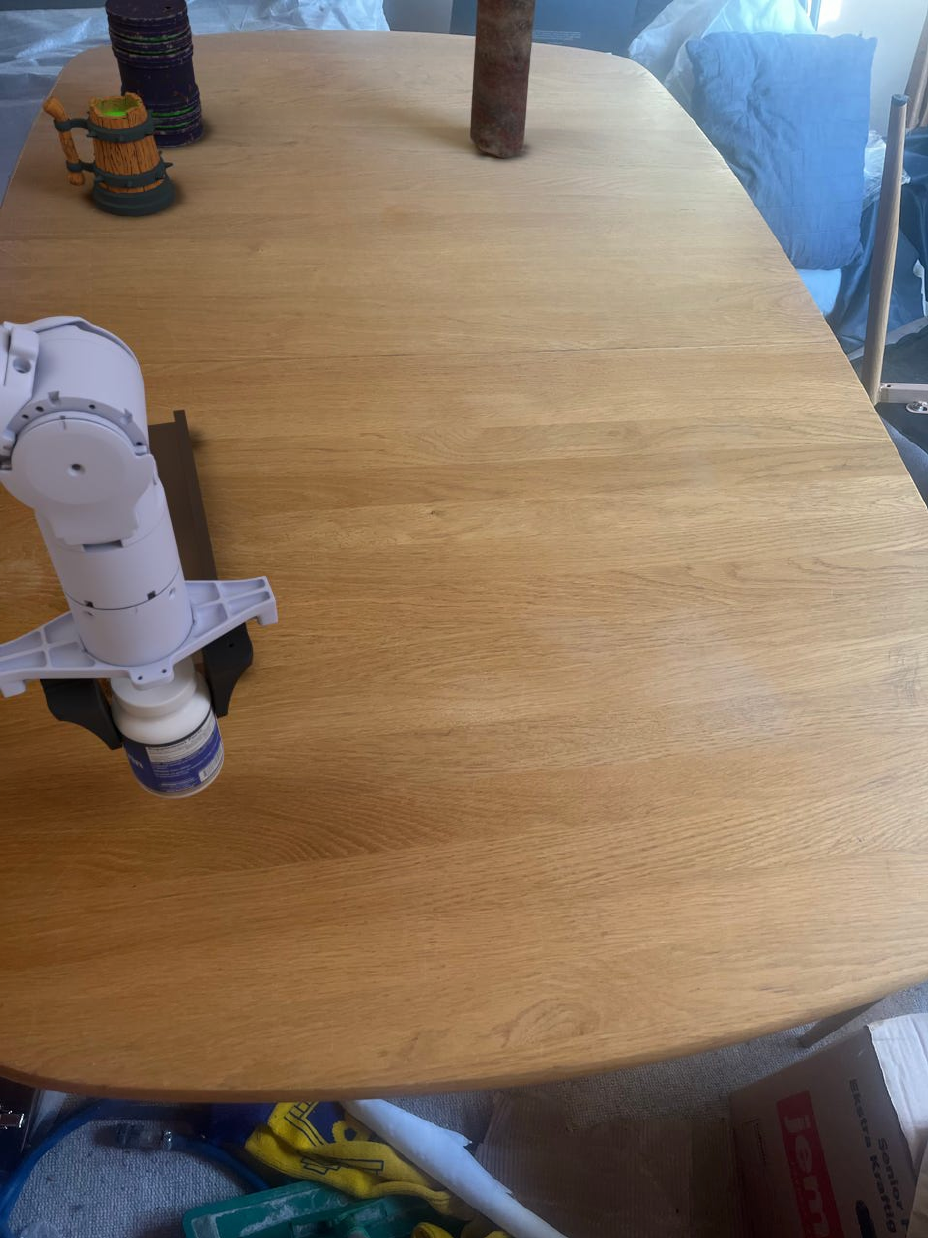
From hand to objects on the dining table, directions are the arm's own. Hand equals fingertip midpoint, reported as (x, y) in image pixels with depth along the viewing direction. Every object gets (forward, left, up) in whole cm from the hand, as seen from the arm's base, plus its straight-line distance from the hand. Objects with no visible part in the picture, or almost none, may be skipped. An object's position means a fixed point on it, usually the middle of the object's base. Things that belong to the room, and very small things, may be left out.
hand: (166, 720), depth 58 cm
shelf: (+3, +24, -10) cm, 26 cm away
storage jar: (+22, +99, -10) cm, 102 cm away
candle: (+63, +83, -10) cm, 105 cm away
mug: (+13, +83, -10) cm, 85 cm away
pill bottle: (0, 0, -5) cm, 5 cm away
